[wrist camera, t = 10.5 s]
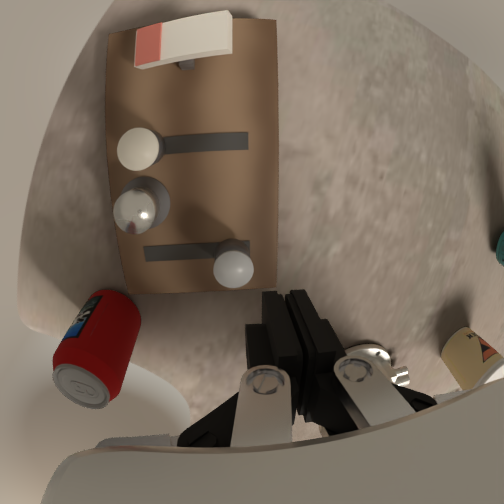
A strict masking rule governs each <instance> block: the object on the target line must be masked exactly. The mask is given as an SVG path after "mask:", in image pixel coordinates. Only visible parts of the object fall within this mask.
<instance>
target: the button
mask: <svg viewBox="0 0 504 504" xmlns="http://www.w3.org/2000/svg"><path fill="white" fill-rule="evenodd" d="M159 212H160V202H159V199H158V197H157V195H156V194H155V193H154V192H153V191H152V190H151V189H149V188H147V187H142V186H138V187H134V188H132V189H130V190H129V191H127V192H125V193H124V194H122V195H121V196H120V197H119V198H118V199H117V200H116V202H115V205H114V209H113V215H114V219H115V222H116V223H117V225H118V226H119V227H120V228H121V229H122V230H123V231H125V232H126V233H129V234H141V233H143V232H145V231H146V230H148V229H149V228H150V226H151V225H152V224H153V222H154V221H155V220H156V218H157V217H158V215H159Z"/></svg>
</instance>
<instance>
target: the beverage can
mask: <svg viewBox="0 0 504 504" xmlns="http://www.w3.org/2000/svg"><path fill="white" fill-rule="evenodd" d="M140 326H141V316H140V313H139V311H138V309H137V307H136V305H135V304H134V303H133V302H132V301H131V300H130V299H129V298H128V297H126V296H125V295H123V294H121V293H119V292H117V291H113V290H100V291H97V292H95V293H94V294H93V295H91V297H90V298H89V299H88V301H87V302H86V304H85V305H84V307H83V308H82V309H81V311H80V312H79V314H78V315H77V317H76V318H75V320H74V321H73V323H72V325H71V326H70V328H69V329H68V331H67V333H66V334H65V336H64V338H63V339H62V341H61V343H60V344H59V346H58V348H57V350H56V351H55V354H54V356H53V371H54V372H53V380H54V383H55V385H56V387H57V388H58V389H59V391H60V392H61V393H62V394H63V395H64V396H66V397H67V398H68V399H70V400H71V401H73V402H74V403H76V404H79V405H81V406H83V407H87V408H91V409H101V408H104V407H105V406H106V405H108V403H109V402H110V401H111V400H112V399H114V398H115V397H116V396H117V395H118V394H119V392H120V390H121V387H122V383H123V380H124V377H125V374H126V370H127V367H128V364H129V361H130V358H131V354H132V351H133V348H134V345H135V342H136V339H137V336H138V332H139V329H140Z"/></svg>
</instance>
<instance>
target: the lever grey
mask: <svg viewBox="0 0 504 504" xmlns="http://www.w3.org/2000/svg"><path fill="white" fill-rule="evenodd" d="M213 272H214V276H215V278H216V280H217V281H218V282H219V283H220V284H221V285H223V286H225V287H228V288H238V287H241V286H243V285H245V284H246V283H248V282H249V281H250V279H251V278H252V275H253V272H254V268H253V263H252V261H251V258H250V254H249V251H248V248H247V246H246V245H245V244H244V243H243V242H242V241H240V240H238V239H226V240H224V241H222V242H221V243H220V244H219V245H218V246H217V247H216V250H215V257H214V268H213Z"/></svg>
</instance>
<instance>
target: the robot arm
mask: <svg viewBox="0 0 504 504" xmlns="http://www.w3.org/2000/svg"><path fill="white" fill-rule="evenodd" d="M245 337H246V358H247V369H248V370H247V371H246V372H245V373H244V374H243V376H242V378H241V382H240V388H239V392H237V393H236V394H235V395H234V396H232V397H231V398H230V399H228V400H227V401H226V402H224V403H223V404H221V405H220V406H219V407H217V408H216V409H215V410H213V411H212V412H210V413H209V414H208V415H206V416H205V417H203V418H202V419H200V420H199V421H198V422H196V423H195V424H193V425H192V426H190V427H189V428H187V429H186V430H185V431H184V432H183V433H181V435H179V436H171V437H170V435H169V434H163V435H152V436H138V437H119V438H108V439H104V440H102V441H101V442H99V443H98V444H97V446H96V447H95V448H93V449H88V450H84V451H80V452H77V453H74V454H72V455H70V456H69V457H67V458H66V459H65V460H64V461H62V463H61V464H60V465H59V466H58V468H57V469H56V471H55V472H54V474H53V476H52V478H51V480H50V482H49V484H48V486H47V488H46V491H45V494H44V495H43V498H42V501H41V504H504V378H500V379H497V380H494V381H491V382H488V383H486V384H484V385H481V386H479V387H476V388H474V389H469V390H463V391H458V392H452V393H446V394H440V395H434V397H433V398H432V397H430V396H428V395H426V394H423V393H420V392H417V391H414V390H411V389H408V388H405V387H402V386H405V385H408V384H409V382H410V379H409V376H408V375H407V373H408V368H407V367H406V366H403V367H400V368H398V369H393V368H392V367H391V366H390V365H391V359H390V356H389V354H388V353H387V351H386V350H385V349H384V348H383V347H381V346H379V345H375V344H363V345H358V346H354V347H351V348H348V349H346V350H344V348H343V347H342V345H341V343H340V341H339V339H338V337H337V336H336V334H335V332H334V330H333V328H332V327H331V325H330V323H329V321H328V320H327V319H320V318H319V316H318V314H317V312H316V310H315V308H314V306H313V304H312V302H311V300H310V299H309V297H308V295H307V293H306V291H305V290H291V291H290V294H286V295H285V301H284V298H283V296H282V294H277V291H266V292H262V324H245ZM296 408H297V412H298V415H303V416H304V420H305V423H306V422H314V423H316V424H318V425H319V431H320V434H321V435H322V438H316V439H310V440H304V441H297V442H292V425H293V424H294V420H295V414H296Z"/></svg>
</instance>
